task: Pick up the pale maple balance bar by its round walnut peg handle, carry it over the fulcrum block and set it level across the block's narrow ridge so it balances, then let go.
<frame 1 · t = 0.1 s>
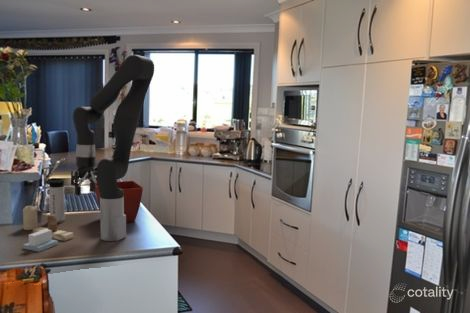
hand: (85, 193, 166), 17 cm above the countertop, tool pointing down, fingers open, 8 cm apart
fulcrum block: (40, 246, 151), on the countertop
travel mug: (57, 221, 185), on the countertop
maple bar: (52, 236, 163), on the countertop
plant pot: (118, 220, 190), on the countertop
candle: (30, 228, 173), on the countertop
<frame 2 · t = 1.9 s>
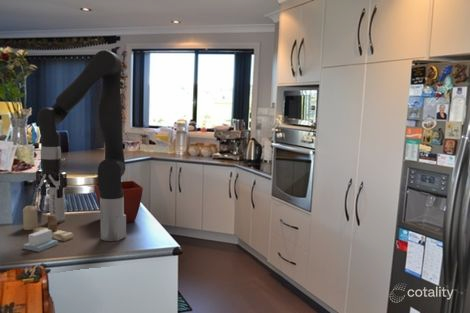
hand: (51, 196, 161), 17 cm above the countertop, tool pointing down, fingers open, 8 cm apart
nothing on the countertop moved.
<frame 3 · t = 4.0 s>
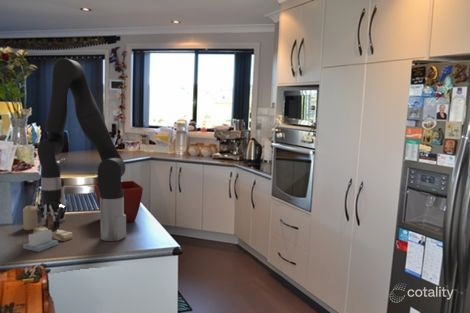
hand: (52, 228, 163), 3 cm above the countertop, tool pointing down, fingers closed on maple bar, 3 cm apart
maple bar: (52, 236, 163), on the countertop, touching gripper
everything else where it was.
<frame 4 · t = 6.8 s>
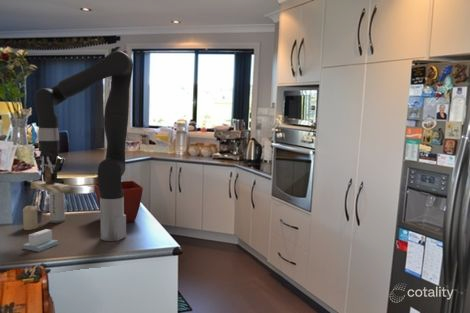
hand: (50, 181, 159), 23 cm above the countertop, tool pointing down, fingers closed on maple bar, 3 cm apart
maple bar: (50, 189, 160), point 20 cm above the countertop, touching gripper
everything else where it was.
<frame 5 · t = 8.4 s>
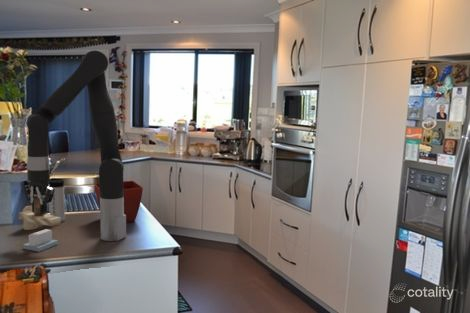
hand: (39, 212, 150), 13 cm above the countertop, tool pointing down, fingers closed on maple bar, 3 cm apart
maple bar: (39, 221, 150), point 10 cm above the countertop, touching gripper
everything else where it was.
when the fingers open (9 cm above the countertop, at t = 9.6 s): maple bar stays where it is, resting on fulcrum block.
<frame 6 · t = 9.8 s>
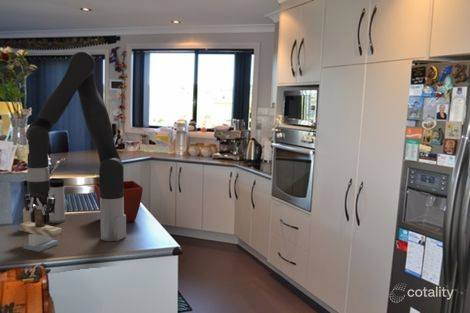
hand: (40, 222, 150), 9 cm above the countertop, tool pointing down, fingers open, 5 cm apart
maple bar: (40, 232, 150), point 5 cm above the countertop, touching fulcrum block
everything else where it was.
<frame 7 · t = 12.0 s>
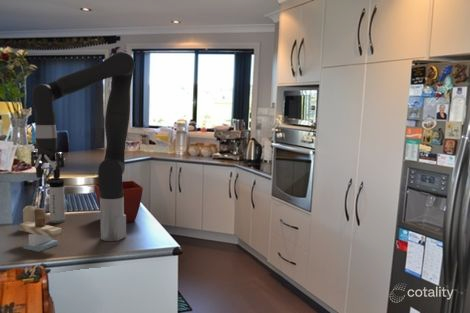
hand: (48, 178, 154), 25 cm above the countertop, tool pointing down, fingers open, 8 cm apart
nothing on the countertop moved.
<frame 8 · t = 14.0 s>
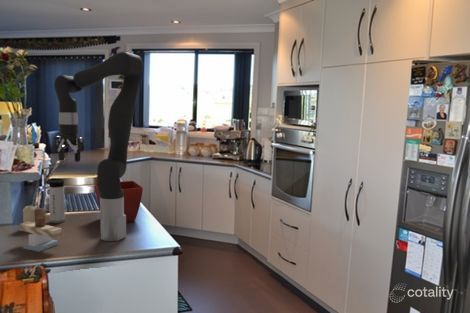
hand: (69, 160, 170), 30 cm above the countertop, tool pointing down, fingers open, 8 cm apart
nothing on the countertop moved.
at the end: maple bar 0.0 cm off-centre on the fulcrum block, point 5.5 cm above the fulcrum block's base; maple bar tilted 0°; maple bar touching fulcrum block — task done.
